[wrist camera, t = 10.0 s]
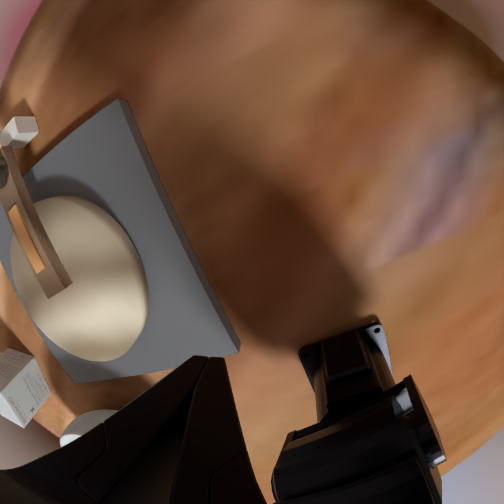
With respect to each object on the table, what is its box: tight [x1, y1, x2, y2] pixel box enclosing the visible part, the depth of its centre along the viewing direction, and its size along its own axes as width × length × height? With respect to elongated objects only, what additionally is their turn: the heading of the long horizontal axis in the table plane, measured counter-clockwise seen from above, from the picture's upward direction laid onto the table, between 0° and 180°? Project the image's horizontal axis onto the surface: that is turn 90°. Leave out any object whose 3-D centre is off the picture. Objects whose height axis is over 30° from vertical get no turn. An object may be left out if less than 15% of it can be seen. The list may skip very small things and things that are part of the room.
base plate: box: [0, 99, 241, 384], centre depth 19 cm, size 23×19×2 cm
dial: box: [0, 146, 149, 361], centre depth 16 cm, size 18×13×8 cm
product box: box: [0, 348, 52, 428], centre depth 24 cm, size 6×6×7 cm
